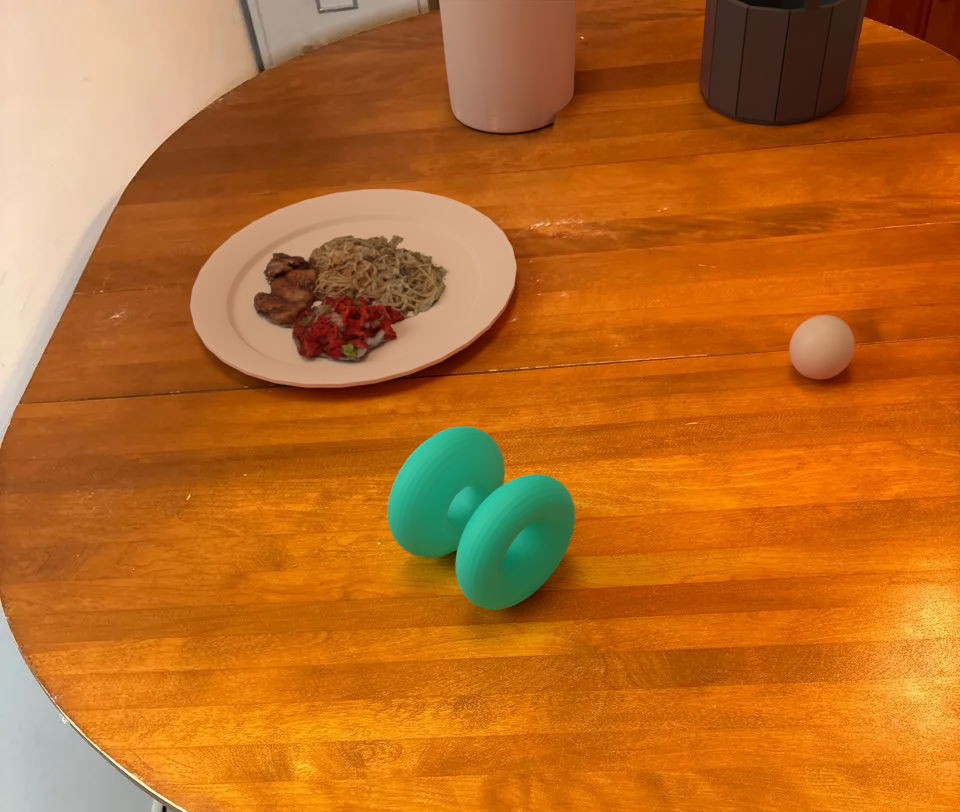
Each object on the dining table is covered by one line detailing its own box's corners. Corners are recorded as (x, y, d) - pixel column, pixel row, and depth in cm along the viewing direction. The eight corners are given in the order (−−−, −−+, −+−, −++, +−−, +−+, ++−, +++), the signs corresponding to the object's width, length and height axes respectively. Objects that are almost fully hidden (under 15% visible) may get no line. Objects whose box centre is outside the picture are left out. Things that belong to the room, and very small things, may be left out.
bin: (867, 116, 108) (899, -34, 97) (720, 135, 108) (735, -13, 97) (822, 48, 117) (846, -95, 107) (686, 66, 117) (696, -75, 107)
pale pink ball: (846, 354, 88) (858, 302, 84) (849, 393, 85) (862, 342, 81) (784, 352, 89) (793, 301, 85) (785, 391, 86) (795, 340, 82)
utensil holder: (510, 59, 124) (500, -115, 110) (607, 95, 117) (610, -87, 104) (420, 111, 119) (398, -66, 105) (517, 151, 112) (507, -33, 98)
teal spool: (488, 496, 81) (478, 393, 73) (584, 562, 76) (584, 460, 68) (390, 568, 77) (368, 468, 70) (483, 643, 73) (471, 545, 65)
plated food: (446, 176, 110) (443, 145, 107) (572, 335, 92) (572, 302, 90) (165, 259, 104) (154, 228, 102) (242, 444, 87) (231, 413, 84)
